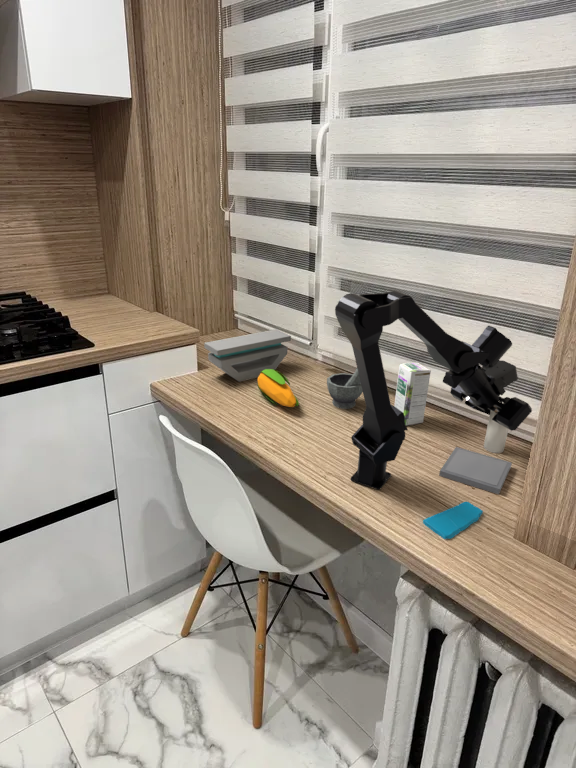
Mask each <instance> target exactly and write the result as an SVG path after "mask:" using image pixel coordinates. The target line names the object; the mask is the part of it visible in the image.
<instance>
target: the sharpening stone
mask: <svg viewBox="0 0 576 768" xmlns="http://www.w3.org/2000/svg"><path fill="white" fill-rule="evenodd" d="M291 341H292V336H291V335H289V334H288V333H285V332H284V331H281V330H279V329H270V330H266V331H259V332H254V333H249V334H245V335H239V336H233V337H228V338H223V339H219V340H218V339H217V340H211V341H206V342H204V344H203V347H204V349H206V350H207V351H209V352H208V353H207V357H208V361H209V362H211V364H213V365H214V366H215V367H217V368H218V369H220V370H221V371H222V372H223V373H225V374H226V375H227V376H229V377H231V378H233V379H234V380H236V381H237V382H243V381H248V380H253V379H256V378H257V379H258V377H259V375H260V374H261V373H260V372H261V371H263V370H265V369H273V370H277V368H278V366H279V365H280V364H281V363H282V361H283V360H284V359H285V357H286V356H287V355H288V349H289V348H288V346H287V345H284V344H282V343H287V342H291Z"/></svg>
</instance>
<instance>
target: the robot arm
mask: <svg viewBox="0 0 576 768" xmlns="http://www.w3.org/2000/svg"><path fill="white" fill-rule="evenodd" d="M334 307H335V309H334V312H335V317H336V319H337V321H338V324H339V326H340V328H341V331H342V332H343V334H344V335H345V336H346V338H347V340H348V341H349V343H350V344H351V347H352V351H353V355H354V361H355V364H356V368H357V369H358V373H359V378H360V382H361V386H362V391H363V392H362V395H363V398H364V403H365V404H364V405H365V409H364V412H363V415H362V424H361V425H360V427H359V428H358V429H357V430H356V431H355V432H354V433H353V434H352V435H351V437H350V438H351V439H350V440H351V441H352V445H354V447H356V448H357V449H358V462H357V470H356V471H355V472H354V473H353V474H352V476H351V477H350V481H352V482H354V483H357V484H361V485H363V486H366V487H369V488H372V489H374V490H378V491H379V490H382V488H383V487H384V485H385V484H386V483H387V481H389V479H390V478H391V477H392V473H391V472H389V471H387V464H388V462H391V461H396V458H397V456H398V454H399V451H400V449H401V446H403V445H402V444H403V442H404V441H405V440H406V431H408V430H409V429H408V427H407V426H406V425H405V416H404V413H403V412H401V411H400V410H399V409H397V408H396V407H394V405H393V404H392V403H391V399H390V393H389V390H388V385H387V384H388V383H387V380H386V374H385V370H384V364H383V358H382V354H381V348H380V343H379V341H380V338H381V336H382V334H383V330H384V327H386V326H389V325H392V324H393V323H394V322H397V320H399V321H400V322H401V323H402V324H403V325H404V326H405V327H406V328H408V330H409V331H411V332H412V333H413V334H414V335H415V336H416V337H417V338H419V340H420V341H421V342H423V343H424V345H425V346H426V350H427V351H426V352H427V353H428V354H429V356H430V357H431V359H432V360H433V361H434V362H435V363H437V364H439V365H441V366H443V367H444V368H447V369H449V370H448V371H445V374H444V376H443V378H442V383H444V384H445V385H447V386H449V387H450V394H451V396H452V397H453V398H455V399H456V400H458V401H460V402H463V401H464V400H465V401H464V405H466V406H468V407H469V408H472V409H473V410H476V411H478V412H480V413H483V414H485V415H489V416H490V411H495V410H497V411H498V412H497V414H496V415H495V416H494V417H493V418H492V420H493V421H495V422H497V423H499V424H500V425H502V426H504V427H506V428H508V431H509V430H510V431H511V432H512V431H516V430H517V429H518V428H519V426H521V424H522V423H523V422H524V421H525V420H526V418H527V417H529V416H530V414H531V413H532V411H533V410H532V409H533V408H532V407H531V405H530V404H529V402H526V401H524V400H522V399H520V398H518V397H517V396H514V397H513V396H512V397H509V396H506V397H502V396H503V395H504V394H505V393H506V389H505V388H506V387H508V386H509V385H511V384H513V383H514V382H516V381H518V380H519V377H518V372H517V366H516V365H514V364H512V363H511V362H510V363H509V362H507V361H505V360H501V358H503V356H504V355H505V354H506V353H507V352H508V350H510V348H512V346H513V342H512V341H511V339H510V338H508V337H507V336H506V335H504V334H503V333H502V332H500V331H499V330H498V329H497V327H494V326H491V325H487V326H486V327H485V328H484V330H483V331H482V333H481V334H480V335H479V336H478V337H477V339H476V340H475V341H474V342H472V344H470V343H467V342H465V341H463V340H460V339H458V338H456V337H454V336H452V335H450V334H449V333H447V332H446V331H445V330H444V329H443V328H442V327H441V326H440V325H439V324H438V323H437V322H435V320H434V319H433V318H432V317H431V316H430V315H428V314H427V312H425V311H424V310H423V308H422V307H420V305H419V304H417V303H416V302H415V300H414V298H413V297H412V296H410V295H409V294H406V293H403V292H401V291H398V290H392V291H388V292H387V291H386V292H380V293H376V292H375V293H361V294H357V293H353V292H350V293H347V294H345V295H344V296H342V297H340V299H339V300H338V302H337V304H336V305H335V306H334ZM481 366H482V367H481ZM494 406H495V407H494ZM496 407H497V409H496Z"/></svg>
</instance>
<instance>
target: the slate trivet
mask: <svg viewBox="0 0 576 768" xmlns="http://www.w3.org/2000/svg"><path fill="white" fill-rule="evenodd" d="M511 468H512V461H508V460H505V459H501V458H496V457H493V456H490V455H487V454H484V453H480V452H476V451H473V450H469V449H466V448H461V447H460V446H459V447H458V446H455V447H454V449H453V451H452V452H451V454H450V455H449V456H448V458H447V459H446V461H445V463H444V464H443V466H442V467H441V468H440V469H439V476H440V477H442V478H446V479H448V480H452V481H454V482H458V483H461V484H465V485H467V486H471V487H474V488H477V489H480V490H484V491H487V492H490V493H492V494H496V495H500V493H501V490H502V488H503V486H504V484H505V481H506V480H507V479H506V478H507V477H508V475H509V472H510V470H511Z"/></svg>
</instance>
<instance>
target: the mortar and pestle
mask: <svg viewBox="0 0 576 768" xmlns="http://www.w3.org/2000/svg"><path fill="white" fill-rule="evenodd" d="M326 387H327V391H328V394H329V396H330V398H332V405H333V407H335V408H338V409H342V410H346V409H347V410H348V409H353V408H354V407H356V402H357V401H356V400H357V399H358V398H360V396H361V395H363V391H362V386H361V382H360V378H359V373H358V369H357V367H356V368H355V371H354V372H353V373H344V372H341V373H334V374H330V375H329V376H328V377H327V378H326Z"/></svg>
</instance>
